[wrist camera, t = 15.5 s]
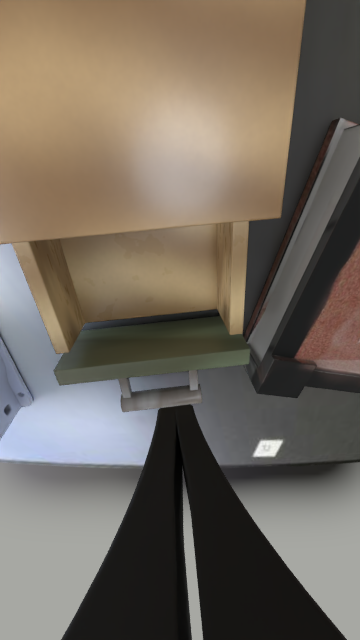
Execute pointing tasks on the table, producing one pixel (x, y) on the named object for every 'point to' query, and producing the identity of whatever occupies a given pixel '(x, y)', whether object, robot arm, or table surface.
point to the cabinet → (143, 113)
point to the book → (314, 283)
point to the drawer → (142, 305)
